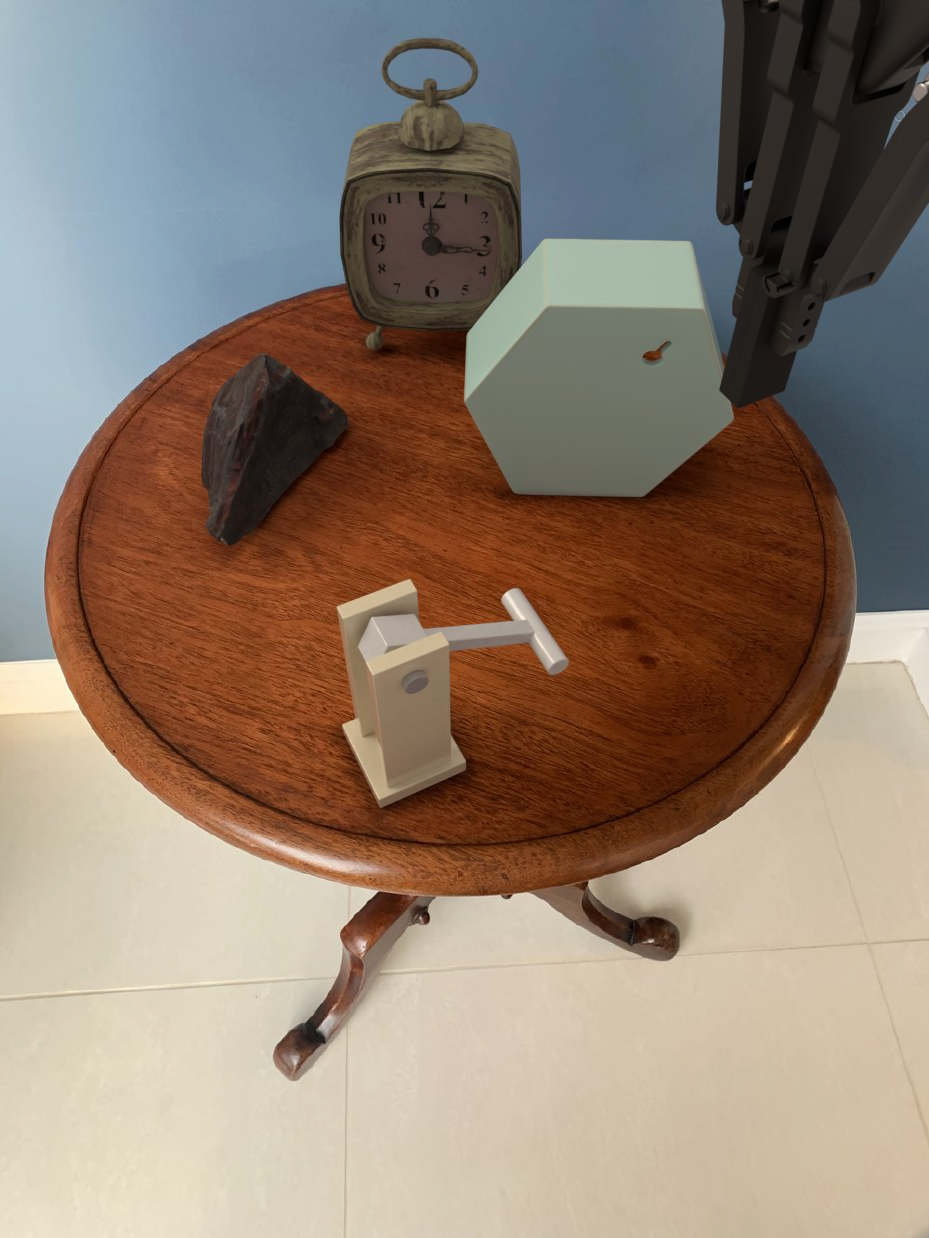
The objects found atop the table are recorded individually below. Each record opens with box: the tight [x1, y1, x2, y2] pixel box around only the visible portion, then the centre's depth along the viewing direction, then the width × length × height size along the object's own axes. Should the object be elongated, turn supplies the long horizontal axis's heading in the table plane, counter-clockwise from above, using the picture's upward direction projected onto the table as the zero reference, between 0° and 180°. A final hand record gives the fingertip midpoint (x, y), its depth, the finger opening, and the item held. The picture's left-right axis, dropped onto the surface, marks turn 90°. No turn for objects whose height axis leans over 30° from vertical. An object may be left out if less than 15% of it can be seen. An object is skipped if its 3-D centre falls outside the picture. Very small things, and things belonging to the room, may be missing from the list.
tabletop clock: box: [338, 37, 523, 352], centre depth 79 cm, size 14×9×25 cm, turn 89°
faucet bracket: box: [336, 578, 467, 809], centre depth 57 cm, size 6×6×14 cm
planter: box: [463, 238, 735, 498], centre depth 72 cm, size 17×8×21 cm
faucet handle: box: [358, 587, 570, 676], centre depth 56 cm, size 12×6×2 cm, turn 117°
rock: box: [200, 352, 351, 547], centre depth 74 cm, size 7×18×9 cm, turn 152°
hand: (751, 390), depth 46 cm, fingers closed
